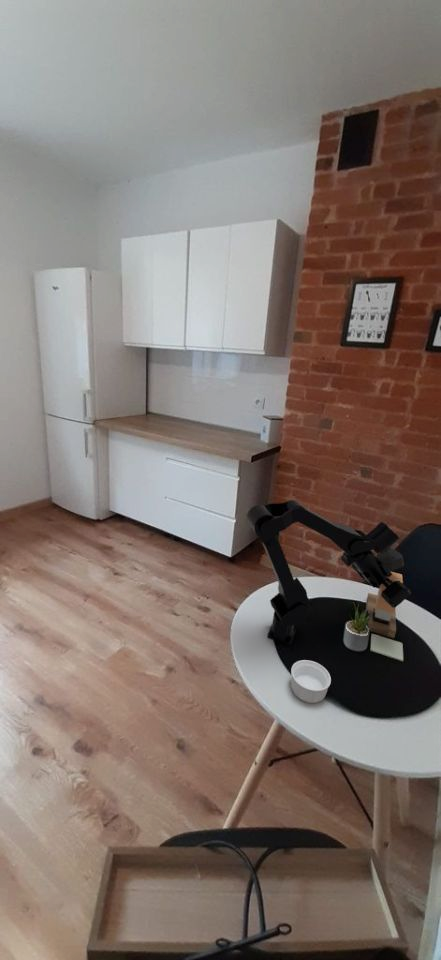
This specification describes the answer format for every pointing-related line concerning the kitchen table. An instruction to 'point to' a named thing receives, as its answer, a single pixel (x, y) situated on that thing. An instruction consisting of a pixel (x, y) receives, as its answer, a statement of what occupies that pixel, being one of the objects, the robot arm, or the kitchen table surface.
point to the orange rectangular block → (382, 606)
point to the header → (377, 626)
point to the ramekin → (309, 681)
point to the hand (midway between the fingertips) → (392, 595)
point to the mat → (386, 647)
